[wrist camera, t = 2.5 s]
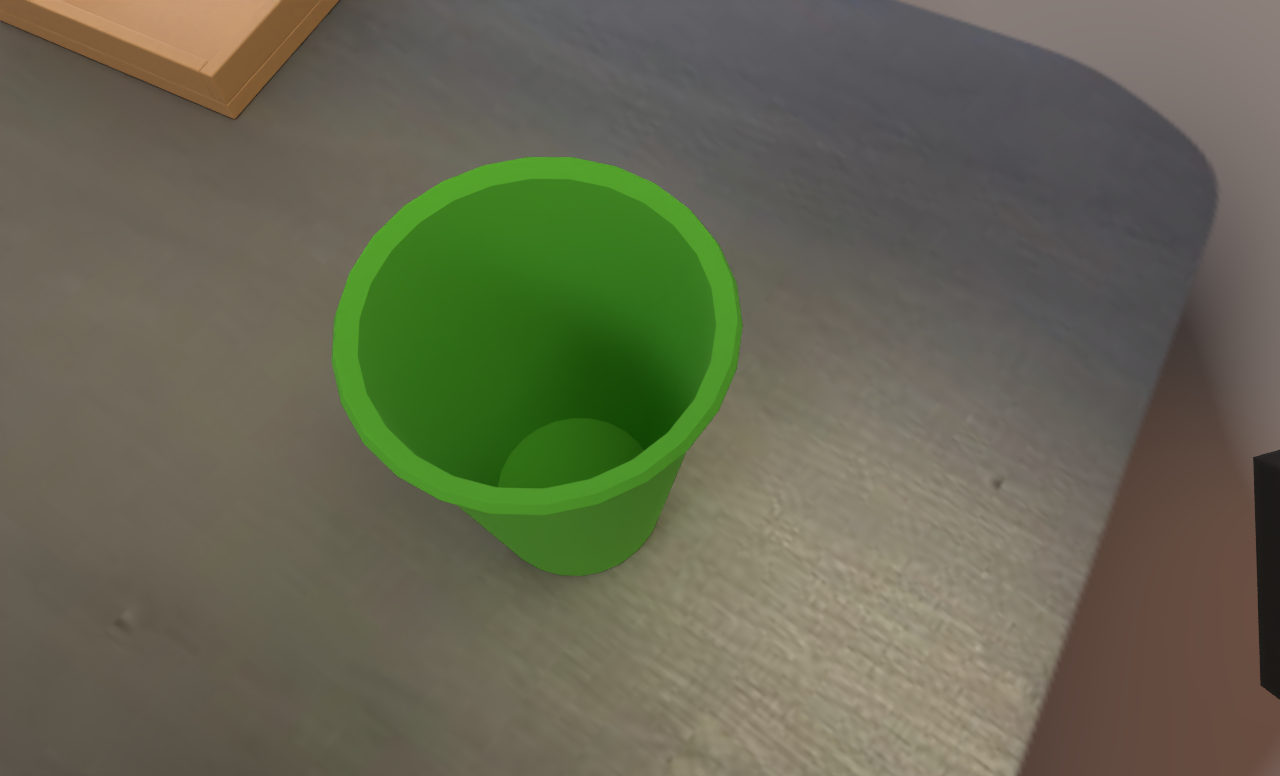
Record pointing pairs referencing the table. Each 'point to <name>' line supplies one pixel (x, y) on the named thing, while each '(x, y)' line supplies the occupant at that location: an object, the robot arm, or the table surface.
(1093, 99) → the table surface
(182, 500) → the table surface
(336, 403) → the table surface
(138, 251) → the table surface
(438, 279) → the cup
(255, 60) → the square wooden tray
